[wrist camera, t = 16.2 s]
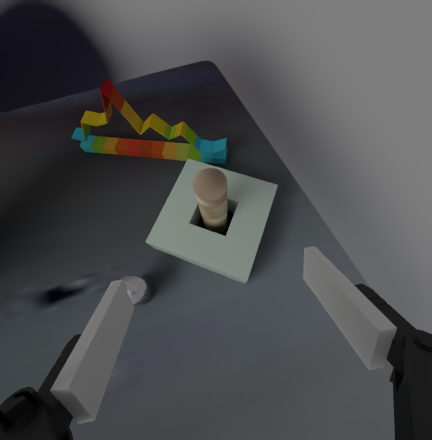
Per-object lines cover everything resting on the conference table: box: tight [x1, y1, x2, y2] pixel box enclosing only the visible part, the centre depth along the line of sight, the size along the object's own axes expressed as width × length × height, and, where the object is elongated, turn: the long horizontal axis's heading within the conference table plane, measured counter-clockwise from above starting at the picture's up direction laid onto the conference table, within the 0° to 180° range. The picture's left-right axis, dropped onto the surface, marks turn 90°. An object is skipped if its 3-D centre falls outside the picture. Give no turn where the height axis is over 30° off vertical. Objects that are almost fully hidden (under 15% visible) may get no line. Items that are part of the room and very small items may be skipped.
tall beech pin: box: [193, 168, 227, 234], centre depth 30 cm, size 4×4×14 cm
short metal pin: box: [121, 276, 155, 305], centre depth 31 cm, size 4×4×5 cm
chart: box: [71, 78, 227, 164], centre depth 36 cm, size 30×3×15 cm, turn 82°
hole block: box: [146, 159, 278, 283], centre depth 34 cm, size 16×16×5 cm
